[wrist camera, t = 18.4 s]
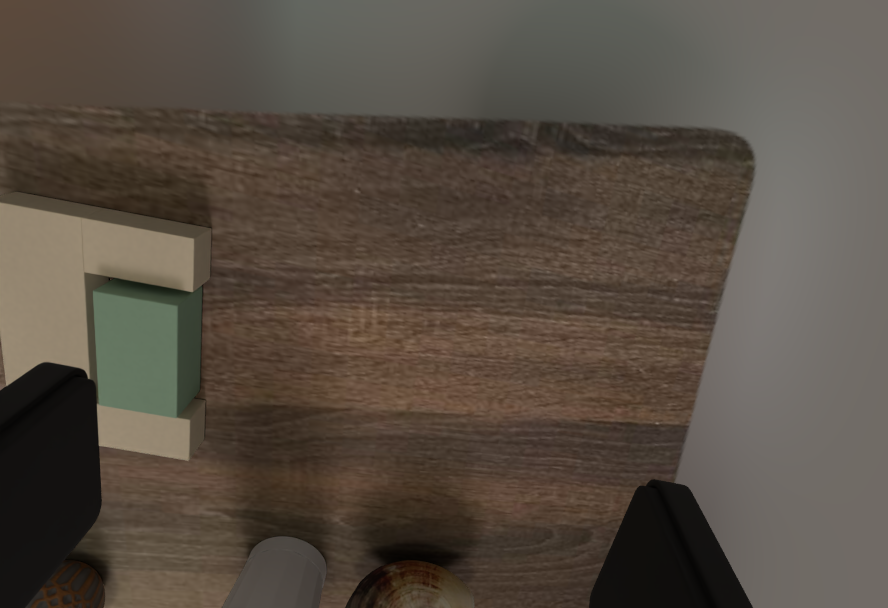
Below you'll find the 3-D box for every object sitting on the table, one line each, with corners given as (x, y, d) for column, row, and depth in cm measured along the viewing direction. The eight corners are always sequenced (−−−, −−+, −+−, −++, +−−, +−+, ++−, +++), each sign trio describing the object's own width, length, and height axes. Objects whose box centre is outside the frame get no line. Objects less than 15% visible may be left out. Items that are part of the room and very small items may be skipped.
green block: (125, 271, 36) (91, 290, 33) (203, 285, 36) (177, 305, 33) (128, 378, 39) (98, 405, 36) (200, 391, 39) (176, 419, 36)
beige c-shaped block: (15, 191, 34) (-17, 199, 32) (211, 228, 35) (194, 238, 32) (37, 410, 40) (11, 431, 38) (204, 439, 41) (189, 461, 38)
